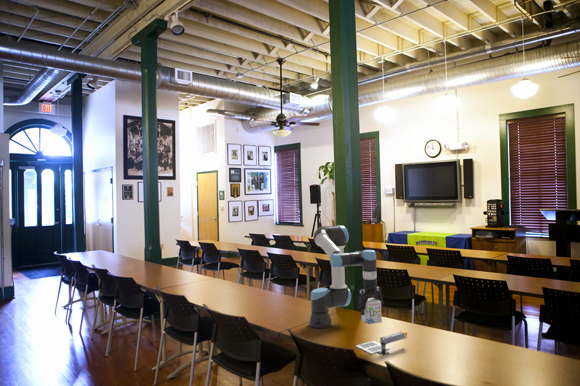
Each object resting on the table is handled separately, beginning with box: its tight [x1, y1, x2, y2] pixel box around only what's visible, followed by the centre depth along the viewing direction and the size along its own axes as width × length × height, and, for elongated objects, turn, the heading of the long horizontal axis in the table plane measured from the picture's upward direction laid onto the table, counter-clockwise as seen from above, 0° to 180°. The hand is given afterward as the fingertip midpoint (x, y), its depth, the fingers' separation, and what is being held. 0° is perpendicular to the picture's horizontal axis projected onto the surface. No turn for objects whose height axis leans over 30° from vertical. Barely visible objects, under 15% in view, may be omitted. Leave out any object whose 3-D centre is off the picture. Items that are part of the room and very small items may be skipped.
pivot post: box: [377, 344, 390, 356], centre depth 205 cm, size 4×4×5 cm
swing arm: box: [379, 330, 408, 345], centre depth 210 cm, size 18×3×3 cm, turn 122°
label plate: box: [355, 340, 391, 355], centre depth 213 cm, size 13×13×1 cm
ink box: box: [360, 297, 382, 325], centre depth 214 cm, size 8×8×12 cm
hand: (371, 319), depth 214 cm, fingers closed on ink box, 9 cm apart
